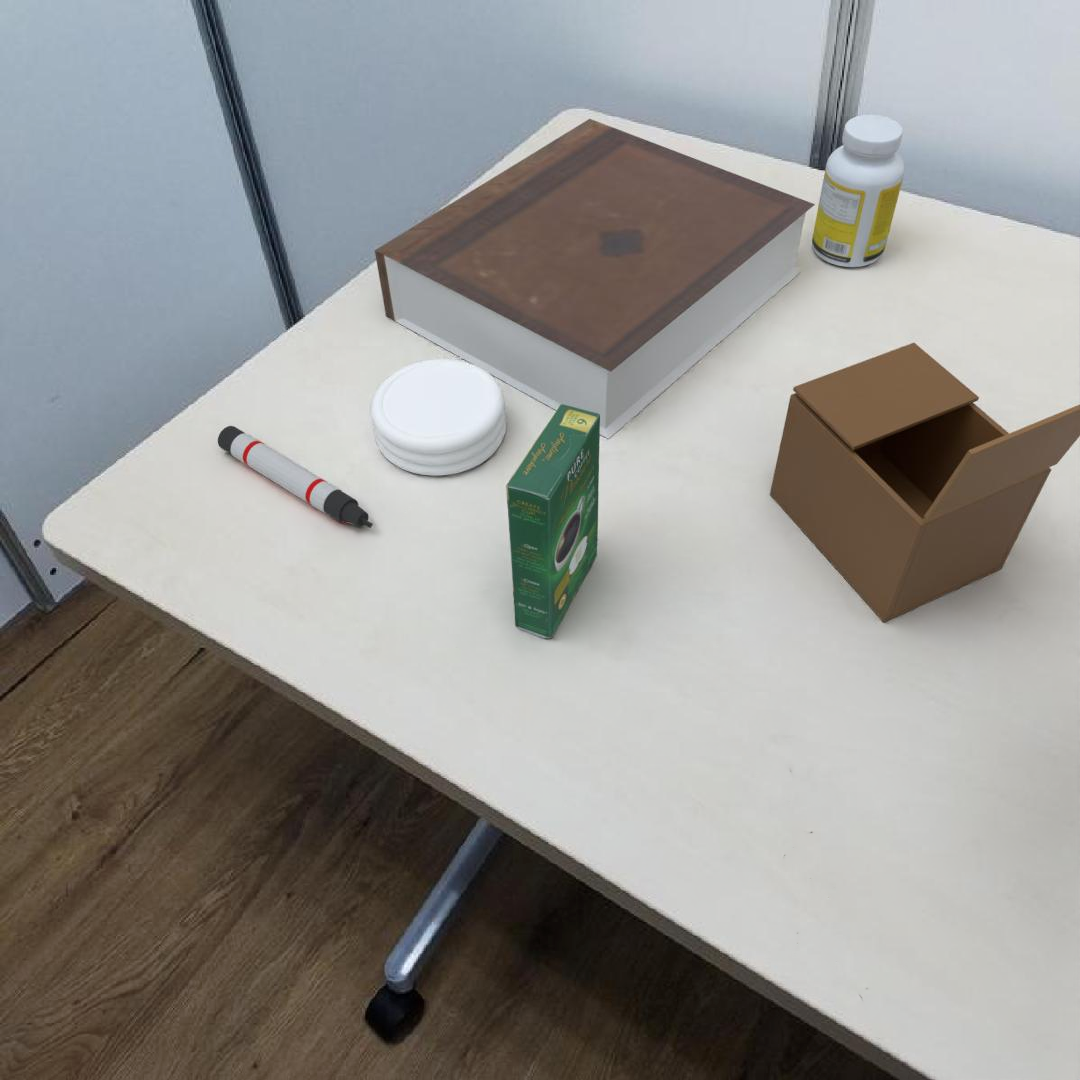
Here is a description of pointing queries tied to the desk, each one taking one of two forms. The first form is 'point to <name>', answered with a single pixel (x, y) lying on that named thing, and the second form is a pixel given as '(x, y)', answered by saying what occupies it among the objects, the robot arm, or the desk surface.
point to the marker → (293, 477)
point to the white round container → (438, 416)
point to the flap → (1009, 460)
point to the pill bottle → (859, 192)
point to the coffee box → (554, 519)
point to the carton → (895, 480)
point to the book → (594, 269)
